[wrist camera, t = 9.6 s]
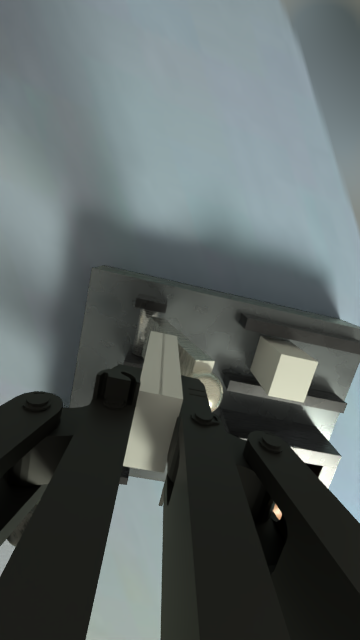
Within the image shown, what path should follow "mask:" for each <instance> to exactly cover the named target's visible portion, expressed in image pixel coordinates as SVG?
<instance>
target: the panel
mask: <svg viewBox="0 0 360 640" xmlns="http://www.w3.org/2000/svg"><path fill="white" fill-rule="evenodd" d="M150 317H158V318H164V319H165V320H167V321H168V322H169V323H170V324H171V325H172V326H174V327H175V328H176V329H177V330H178V331H180V332H181V333H182V334H183V335H184V336H185V337H187V338H188V339H189V340H190V341H191V342H193V343H194V344H195V345H196V346H197V347H198V348H200V349H201V350H202V351H203V352H204V353H205V354H207V355H208V356H209V357H210V358H211V359H213V360H214V361H215V362H214V366H213V370H212V373H213V374H215V375H216V376H217V377H218V379H219V380H220V382H221V384H222V387H223V398H222V401H221V403H220V405H219V406H218V408H217V409H216V410H214V411H213V412H212V413H214V414H216V415H217V416H218V417H219V418H220V419H221V421H222V422H223V425H224V428H225V431H226V432H227V433H229V434H231V435H233V436H236V437H238V438H241V439H244V440H246V441H247V438H248V435H249V434H250V433H251V432H252V431H266V432H270V433H272V434H275V435H276V436H277V437H279V438H281V439H282V440H283V441H285V442H286V443H287V444H288V445H289V446H290V447H291V448H292V449H293V450H294V452H295V453H296V454H297V455H298V456H299V457H300V458H301V459H302V460H303V462H304V463H305V464H306V465H307V466H308V467H309V468H310V469H311V470H312V471H313V473H314V474H315V475H316V476H317V477H318V478H319V479H320V480H321V481H322V483H323V484H324V485H325V486H326V487H327V488H329V485H330V483H331V480H332V478H333V476H334V473H335V471H336V468H337V466H338V463H339V461H340V459H341V455H340V454H339V453H338V452H337V450H336V449H335V448H334V447H333V446H332V445H331V443H330V442H329V439H330V436H331V433H332V431H333V428H334V426H335V423H336V421H337V418H338V416H339V413H344V410H345V408H346V405H347V403H346V402H344V400H345V398H346V395H347V393H348V390H349V388H350V385H351V383H352V380H353V378H354V375H355V372H356V370H357V367H358V365H359V362H360V327H359V326H356V325H353V324H351V323H348V322H346V321H343V320H341V319H336V318H332V317H328V316H323V315H319V314H315V313H310V312H306V311H302V310H297V309H293V308H288V307H284V306H280V305H275V304H271V303H267V302H262V301H258V300H254V299H249V298H245V297H240V296H236V295H232V294H227V293H223V292H219V291H214V290H210V289H205V288H201V287H197V286H192V285H188V284H184V283H179V282H175V281H171V280H166V279H162V278H157V277H153V276H149V275H144V274H140V273H136V272H131V271H127V270H122V269H118V268H114V267H109V266H105V265H104V266H99V267H94V268H92V271H91V277H90V283H89V289H88V295H87V301H86V308H85V314H84V320H83V326H82V332H81V339H80V345H79V351H78V357H77V363H76V369H75V376H74V382H73V388H72V394H71V400H70V406H69V408H76V407H83V406H87V405H89V404H90V402H91V400H92V397H93V392H94V386H95V380H96V375H97V373H99V372H100V371H102V370H105V369H112V368H113V367H115V366H117V365H119V364H122V365H127V366H132V367H137V368H142V369H143V364H144V358H143V357H142V351H143V346H144V342H145V337H146V332H147V328H148V323H149V318H150ZM260 336H265V337H270V338H274V339H279V340H284V341H288V342H292V343H293V344H294V345H296V346H297V347H298V348H300V349H301V350H302V351H304V352H305V353H307V354H308V355H309V356H311V357H312V358H313V359H315V360H316V361H318V365H317V367H316V370H315V373H314V376H313V378H312V381H311V384H310V387H309V390H308V392H307V395H306V398H305V401H304V403H303V402H298V401H293V400H287V399H282V398H277V397H272V396H268V395H267V394H266V392H265V391H264V389H263V388H262V386H261V385H260V384H259V382H258V381H257V379H256V378H255V376H254V375H253V374H252V372H251V371H250V368H251V365H252V362H253V359H254V355H255V352H256V349H257V345H258V342H259V339H260ZM166 475H167V464H166V468H165V472H164V473H161V472H155V471H149V470H143V469H138V468H132V467H126V466H123V468H122V472H121V477H120V481H119V484H124V485H127V481H128V476H133V477H139V478H145V479H151V480H157V481H163V482H165V479H166Z"/></svg>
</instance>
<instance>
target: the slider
mask: <svg viewBox="0 0 360 640" xmlns="http://www.w3.org/2000/svg"><path fill="white" fill-rule="evenodd" d="M317 365H318V361H316V360H315V359H313V358H312V357H311V356H309V355H308V354H307V353H305V352H304V351H302V350H301V349H300V348H298V347H297V346H296V345H294V344H293V343H292V342H288V341H284V340H279V339H274V338H270V337H265V336H260V339H259V342H258V345H257V349H256V352H255V355H254V359H253V362H252V365H251V368H250V371H251V372H252V374H253V375H254V376H255V378H256V379H257V381H258V382H259V384H260V385H261V386H262V388H263V389H264V391H265V392H266V394H267V395H268V396H272V397H277V398H282V399H287V400H293V401H298V402H303V403H304V401H305V398H306V395H307V392H308V390H309V387H310V384H311V381H312V378H313V376H314V373H315V370H316V367H317Z"/></svg>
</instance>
